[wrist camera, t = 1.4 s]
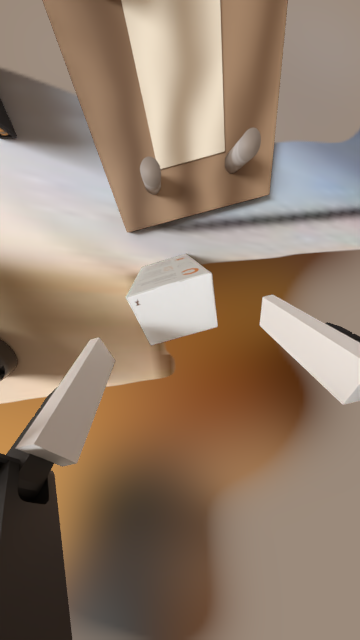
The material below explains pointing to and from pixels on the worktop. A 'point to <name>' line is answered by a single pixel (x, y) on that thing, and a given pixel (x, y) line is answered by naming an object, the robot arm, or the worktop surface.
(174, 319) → the small box
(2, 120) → the ammunition clip
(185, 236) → the worktop surface
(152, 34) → the stub base plate
